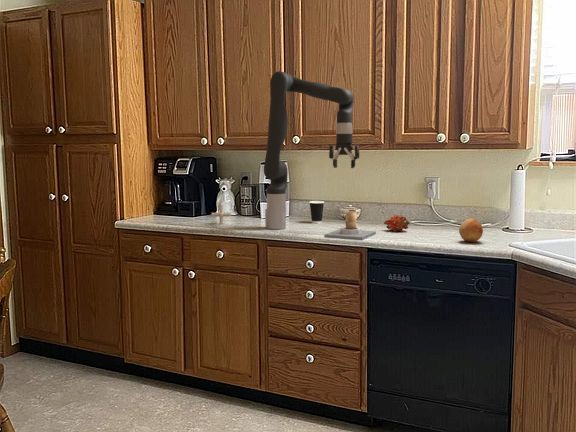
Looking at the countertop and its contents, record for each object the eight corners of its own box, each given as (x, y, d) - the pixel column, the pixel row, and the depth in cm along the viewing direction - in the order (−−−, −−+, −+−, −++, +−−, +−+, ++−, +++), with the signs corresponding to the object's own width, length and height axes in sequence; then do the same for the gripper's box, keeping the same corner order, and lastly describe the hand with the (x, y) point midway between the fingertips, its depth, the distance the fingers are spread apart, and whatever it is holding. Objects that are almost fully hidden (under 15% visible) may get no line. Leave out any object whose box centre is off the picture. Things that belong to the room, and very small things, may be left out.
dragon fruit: (410, 235, 282) (385, 237, 287) (412, 223, 288) (388, 225, 293) (405, 222, 277) (380, 224, 282) (408, 210, 283) (383, 212, 288)
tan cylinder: (344, 233, 272) (344, 210, 271) (347, 231, 277) (348, 209, 275) (353, 234, 270) (354, 210, 269) (357, 232, 274) (358, 209, 273)
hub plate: (324, 237, 270) (324, 230, 269) (339, 231, 285) (339, 224, 285) (362, 240, 261) (362, 232, 261) (376, 233, 277) (376, 227, 277)
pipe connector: (231, 222, 317) (231, 203, 316) (230, 225, 308) (230, 205, 306) (212, 222, 317) (212, 203, 316) (210, 225, 307) (210, 206, 306)
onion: (454, 242, 255) (454, 218, 254) (466, 239, 262) (466, 216, 261) (475, 244, 248) (476, 220, 247) (486, 241, 255) (487, 218, 254)
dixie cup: (306, 222, 316) (306, 201, 315) (318, 221, 320) (319, 200, 319) (314, 224, 309) (314, 202, 308) (327, 222, 313) (327, 202, 312)
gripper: (326, 133, 278) (326, 168, 281) (355, 132, 272) (355, 168, 274) (333, 133, 285) (333, 167, 287) (361, 132, 279) (361, 167, 281)
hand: (344, 168), depth 281 cm, fingers open, 8 cm apart
